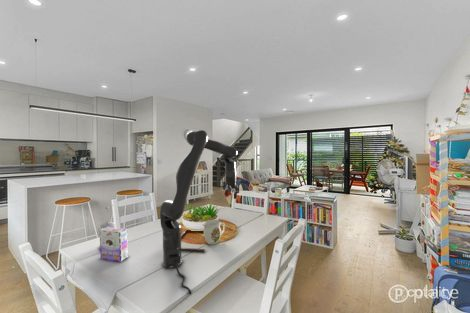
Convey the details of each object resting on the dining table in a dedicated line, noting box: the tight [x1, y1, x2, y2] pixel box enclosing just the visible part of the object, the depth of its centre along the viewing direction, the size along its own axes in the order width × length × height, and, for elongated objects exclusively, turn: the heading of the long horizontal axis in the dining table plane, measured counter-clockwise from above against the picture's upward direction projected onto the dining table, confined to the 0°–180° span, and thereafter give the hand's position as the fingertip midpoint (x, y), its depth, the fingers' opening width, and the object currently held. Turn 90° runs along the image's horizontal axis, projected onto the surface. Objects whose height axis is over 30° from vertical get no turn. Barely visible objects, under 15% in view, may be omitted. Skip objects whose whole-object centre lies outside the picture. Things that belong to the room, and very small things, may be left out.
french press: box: [97, 206, 116, 237], centre depth 134 cm, size 10×12×25 cm
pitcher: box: [200, 219, 226, 246], centre depth 141 cm, size 11×18×14 cm, turn 129°
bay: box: [181, 228, 206, 253], centre depth 143 cm, size 22×29×2 cm
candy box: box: [98, 226, 129, 263], centre depth 121 cm, size 14×6×16 cm, turn 74°
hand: (231, 197), depth 157 cm, fingers open, 8 cm apart
